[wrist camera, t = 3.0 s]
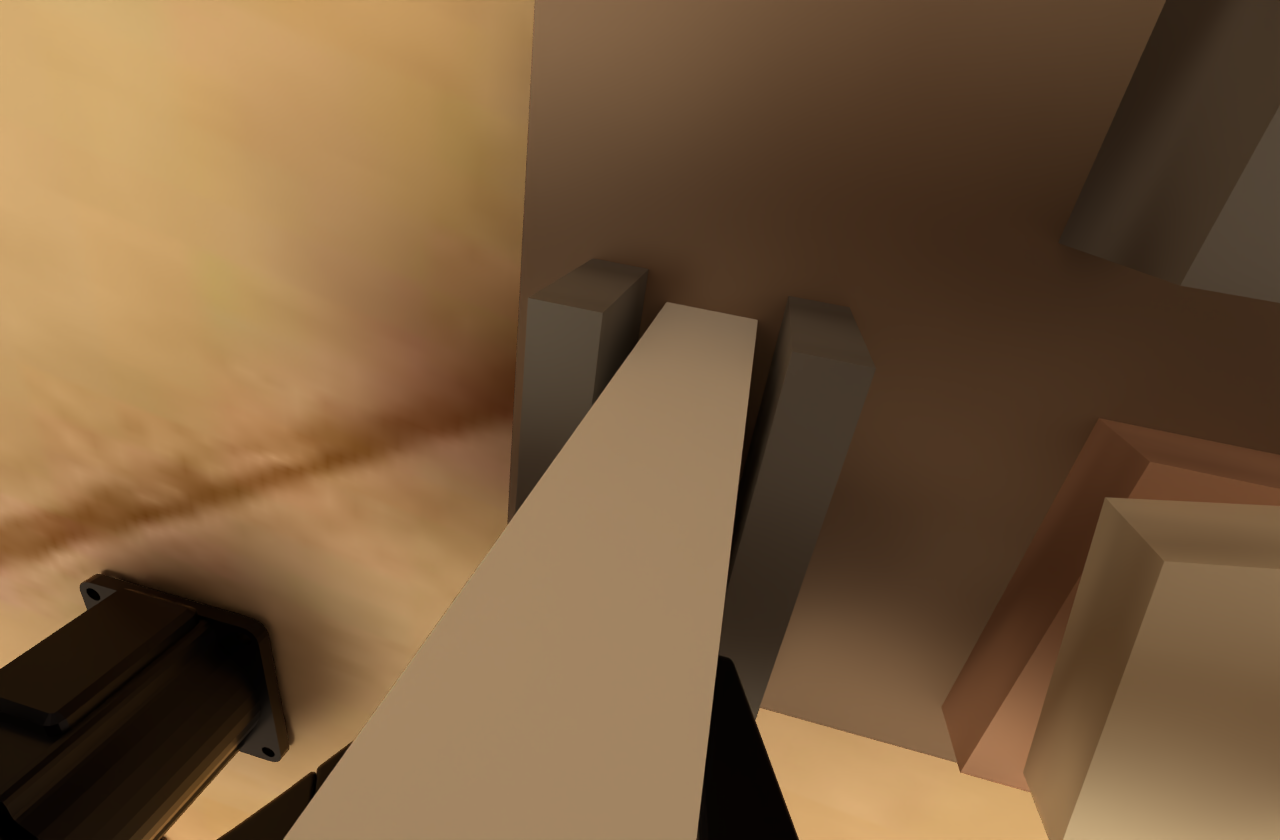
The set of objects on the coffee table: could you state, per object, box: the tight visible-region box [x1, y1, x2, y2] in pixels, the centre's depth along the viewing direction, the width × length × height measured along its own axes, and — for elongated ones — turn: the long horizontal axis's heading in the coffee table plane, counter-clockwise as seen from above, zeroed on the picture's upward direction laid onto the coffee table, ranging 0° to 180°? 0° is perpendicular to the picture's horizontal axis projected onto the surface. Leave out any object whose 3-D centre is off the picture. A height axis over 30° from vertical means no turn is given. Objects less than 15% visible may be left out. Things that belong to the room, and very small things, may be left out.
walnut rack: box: [508, 0, 1280, 763], centre depth 9 cm, size 20×17×4 cm
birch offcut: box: [1023, 497, 1280, 840], centre depth 9 cm, size 6×4×2 cm, turn 4°
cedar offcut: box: [941, 418, 1280, 792], centre depth 10 cm, size 7×5×2 cm
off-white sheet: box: [283, 302, 758, 840], centre depth 8 cm, size 8×2×10 cm, turn 172°
